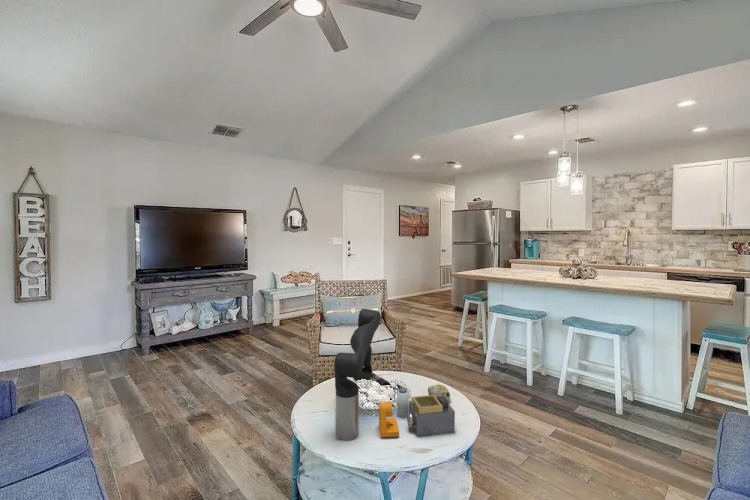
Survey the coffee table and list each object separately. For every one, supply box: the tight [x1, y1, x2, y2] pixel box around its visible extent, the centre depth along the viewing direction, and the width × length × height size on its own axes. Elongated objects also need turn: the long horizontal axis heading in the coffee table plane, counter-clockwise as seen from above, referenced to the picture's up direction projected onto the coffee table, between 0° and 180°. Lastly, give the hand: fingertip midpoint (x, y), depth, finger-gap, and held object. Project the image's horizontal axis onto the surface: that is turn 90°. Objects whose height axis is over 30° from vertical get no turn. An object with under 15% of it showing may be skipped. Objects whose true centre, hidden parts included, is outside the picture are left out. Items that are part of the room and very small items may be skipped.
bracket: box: [378, 401, 400, 438], centre depth 148 cm, size 11×7×12 cm, turn 4°
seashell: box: [427, 384, 451, 405], centre depth 175 cm, size 10×10×10 cm
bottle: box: [396, 386, 410, 419], centre depth 160 cm, size 5×5×12 cm
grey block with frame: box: [406, 394, 456, 438], centre depth 150 cm, size 18×11×12 cm, turn 101°
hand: (399, 398), depth 163 cm, fingers open, 8 cm apart
